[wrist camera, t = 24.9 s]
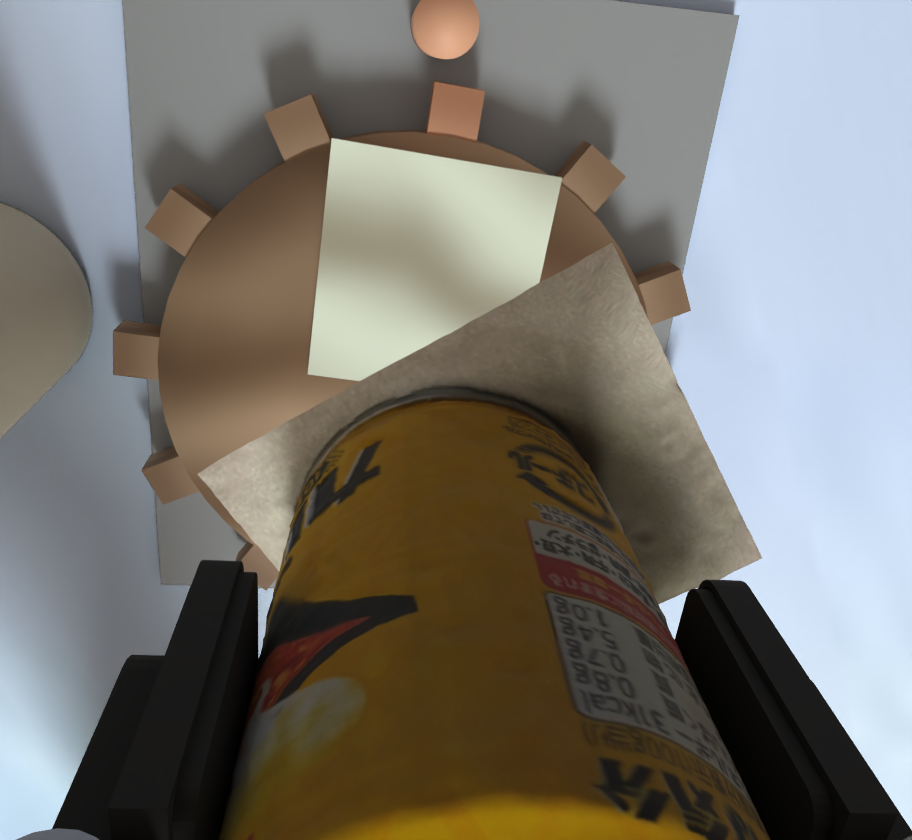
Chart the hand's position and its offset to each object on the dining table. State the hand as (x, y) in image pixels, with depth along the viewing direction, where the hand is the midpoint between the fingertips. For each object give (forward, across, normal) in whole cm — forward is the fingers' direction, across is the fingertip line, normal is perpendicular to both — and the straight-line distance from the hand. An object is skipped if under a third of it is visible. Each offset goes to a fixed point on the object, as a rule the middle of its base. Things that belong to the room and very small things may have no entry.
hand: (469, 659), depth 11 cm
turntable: (+24, 0, +5) cm, 24 cm away
